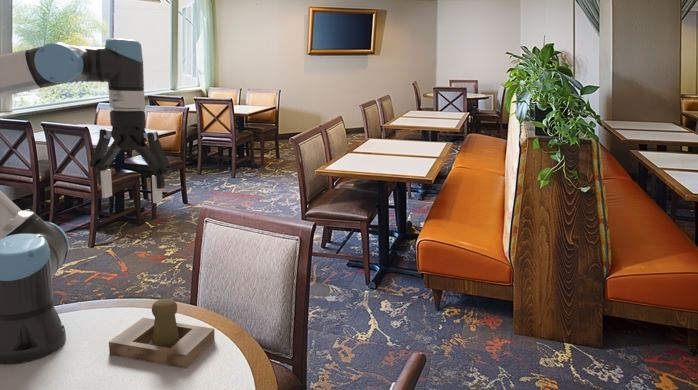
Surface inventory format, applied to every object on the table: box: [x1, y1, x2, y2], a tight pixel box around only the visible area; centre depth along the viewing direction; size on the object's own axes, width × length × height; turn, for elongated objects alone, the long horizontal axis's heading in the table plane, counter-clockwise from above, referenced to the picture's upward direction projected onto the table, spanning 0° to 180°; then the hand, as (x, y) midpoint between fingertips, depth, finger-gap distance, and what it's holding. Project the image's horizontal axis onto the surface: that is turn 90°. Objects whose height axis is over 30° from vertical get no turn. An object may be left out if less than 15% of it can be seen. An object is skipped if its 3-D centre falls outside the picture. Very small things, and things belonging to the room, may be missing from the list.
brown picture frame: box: [108, 317, 216, 369], centre depth 115 cm, size 18×12×3 cm, turn 77°
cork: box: [151, 298, 180, 348], centre depth 114 cm, size 6×6×11 cm
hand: (132, 199), depth 125 cm, fingers open, 13 cm apart
